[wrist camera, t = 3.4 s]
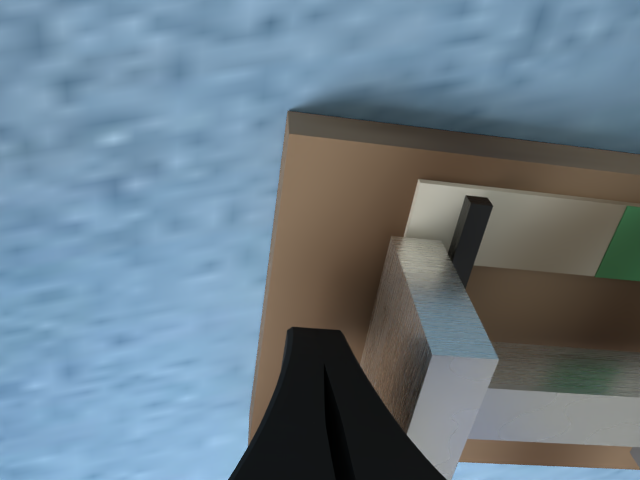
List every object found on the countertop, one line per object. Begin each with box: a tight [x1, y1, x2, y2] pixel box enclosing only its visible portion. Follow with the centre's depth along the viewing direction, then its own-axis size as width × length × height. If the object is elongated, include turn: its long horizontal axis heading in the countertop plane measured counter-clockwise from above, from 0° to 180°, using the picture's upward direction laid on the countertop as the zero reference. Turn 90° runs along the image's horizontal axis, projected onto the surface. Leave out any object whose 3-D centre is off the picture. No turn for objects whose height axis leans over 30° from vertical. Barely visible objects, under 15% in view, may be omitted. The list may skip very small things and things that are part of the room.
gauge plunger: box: [360, 195, 640, 480], centre depth 13 cm, size 10×7×4 cm
